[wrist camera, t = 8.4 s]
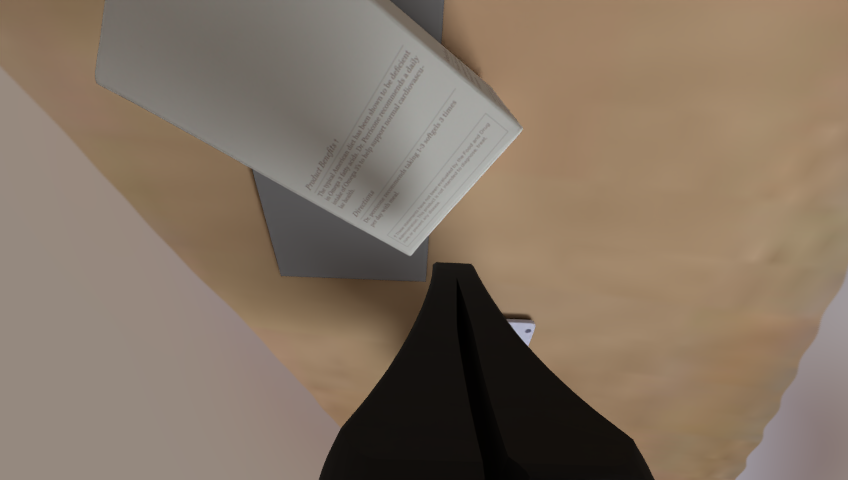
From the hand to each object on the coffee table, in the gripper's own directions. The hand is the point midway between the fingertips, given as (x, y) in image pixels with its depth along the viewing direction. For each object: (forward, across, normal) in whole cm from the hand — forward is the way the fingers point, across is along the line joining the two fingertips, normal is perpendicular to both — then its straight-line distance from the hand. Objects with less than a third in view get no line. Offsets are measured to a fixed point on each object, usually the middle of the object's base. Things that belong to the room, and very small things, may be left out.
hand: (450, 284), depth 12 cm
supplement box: (+6, 0, -2) cm, 7 cm away
